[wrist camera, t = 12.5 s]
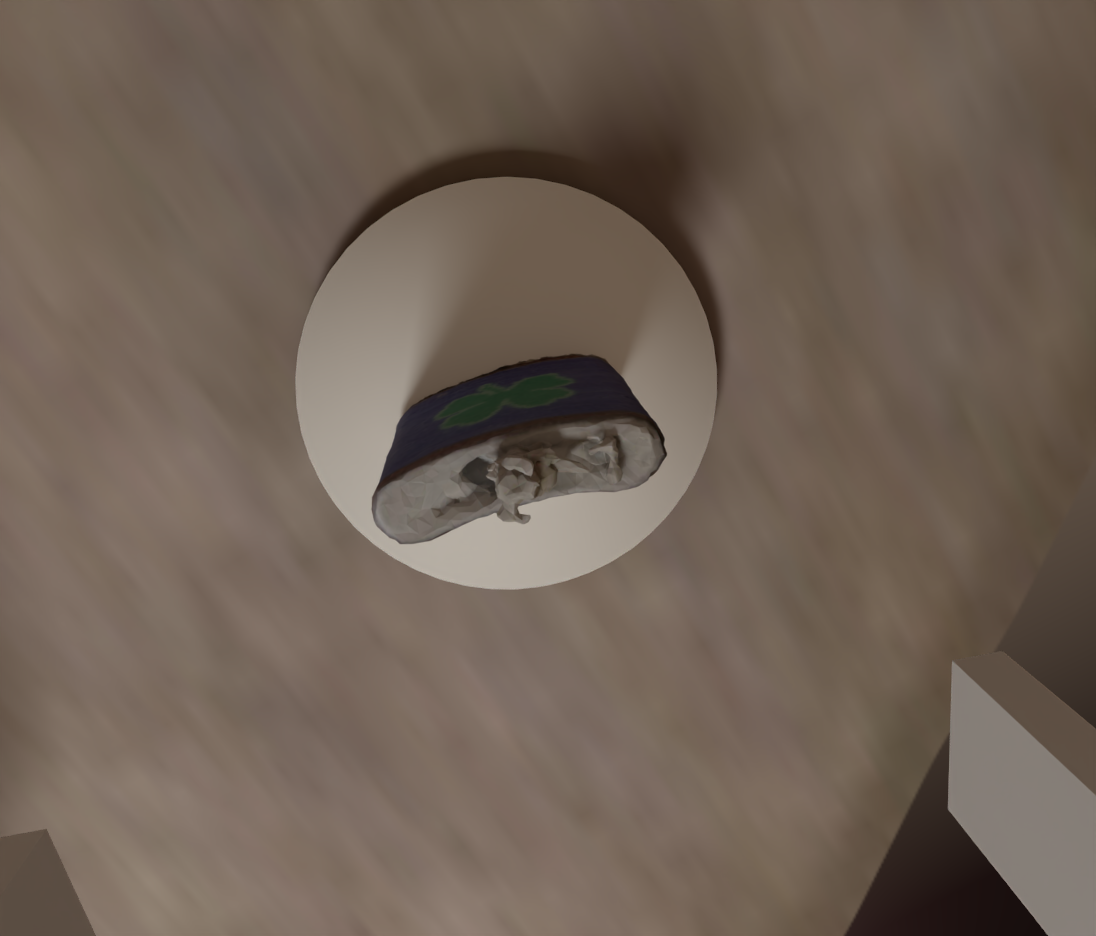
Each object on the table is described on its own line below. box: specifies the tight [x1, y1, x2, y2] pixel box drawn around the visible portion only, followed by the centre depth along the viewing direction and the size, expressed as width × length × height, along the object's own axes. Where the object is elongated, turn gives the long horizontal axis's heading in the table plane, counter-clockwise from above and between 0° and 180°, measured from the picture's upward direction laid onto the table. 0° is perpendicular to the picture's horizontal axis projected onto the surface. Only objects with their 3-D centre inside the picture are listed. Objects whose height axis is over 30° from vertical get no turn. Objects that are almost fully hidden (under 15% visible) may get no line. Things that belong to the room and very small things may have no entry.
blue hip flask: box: [371, 354, 667, 544], centre depth 26 cm, size 9×3×11 cm, turn 104°
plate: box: [295, 177, 717, 589], centre depth 32 cm, size 17×17×1 cm
